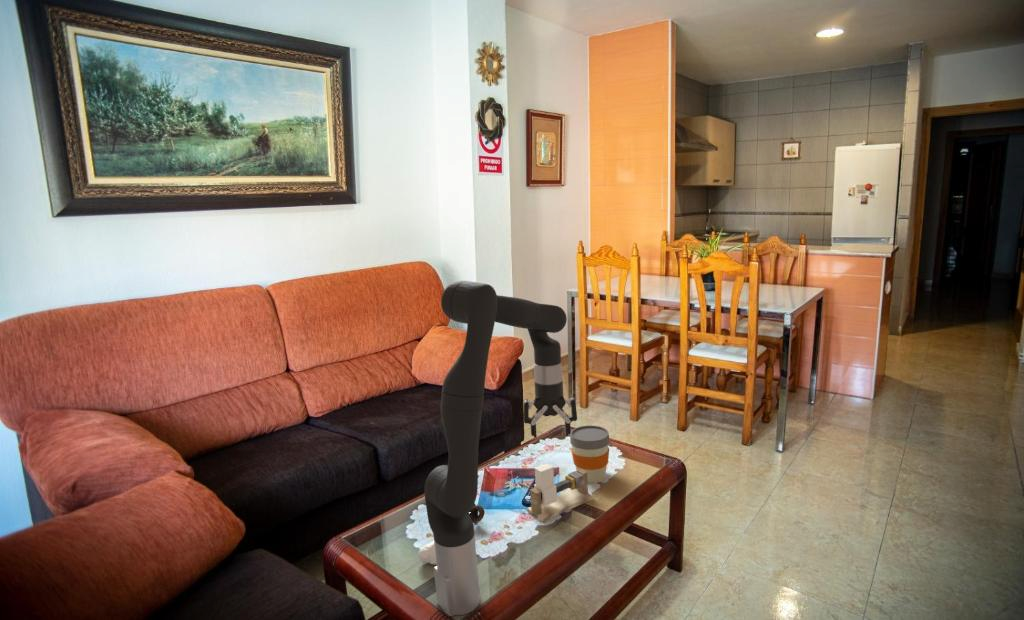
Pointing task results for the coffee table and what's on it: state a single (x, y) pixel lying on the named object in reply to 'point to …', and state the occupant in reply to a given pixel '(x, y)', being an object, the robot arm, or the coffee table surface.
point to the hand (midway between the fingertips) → (551, 435)
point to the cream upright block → (545, 484)
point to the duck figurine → (428, 553)
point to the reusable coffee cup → (590, 451)
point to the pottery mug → (476, 513)
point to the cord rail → (562, 496)
